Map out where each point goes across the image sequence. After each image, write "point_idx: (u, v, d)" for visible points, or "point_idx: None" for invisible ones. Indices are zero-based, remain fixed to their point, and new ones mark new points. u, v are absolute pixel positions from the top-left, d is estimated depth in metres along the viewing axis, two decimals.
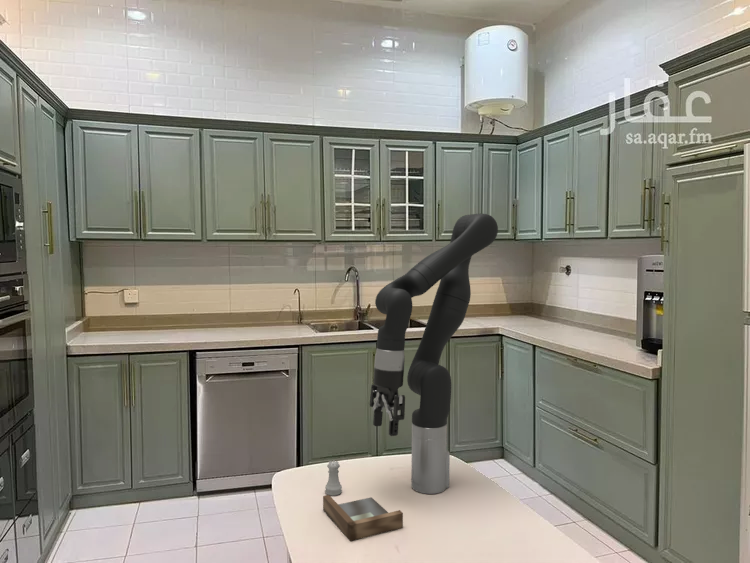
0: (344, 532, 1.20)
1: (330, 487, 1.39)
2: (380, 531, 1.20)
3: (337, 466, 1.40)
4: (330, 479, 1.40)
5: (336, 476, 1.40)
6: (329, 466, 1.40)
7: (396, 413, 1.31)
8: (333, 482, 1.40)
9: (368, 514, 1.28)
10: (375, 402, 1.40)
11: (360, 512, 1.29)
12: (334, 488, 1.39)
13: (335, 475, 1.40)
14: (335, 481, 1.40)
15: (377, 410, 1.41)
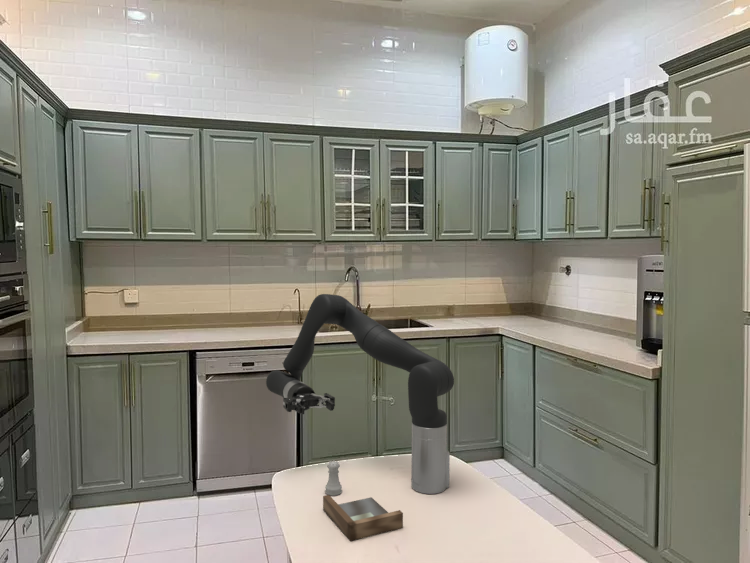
0: (344, 532, 1.20)
1: (330, 487, 1.39)
2: (380, 531, 1.20)
3: (337, 466, 1.40)
4: (330, 479, 1.40)
5: (336, 476, 1.40)
6: (329, 466, 1.40)
7: (286, 409, 1.53)
8: (333, 482, 1.40)
9: (368, 514, 1.28)
10: None
11: (360, 512, 1.29)
12: (334, 488, 1.39)
13: (335, 475, 1.40)
14: (335, 481, 1.40)
15: (326, 404, 1.56)
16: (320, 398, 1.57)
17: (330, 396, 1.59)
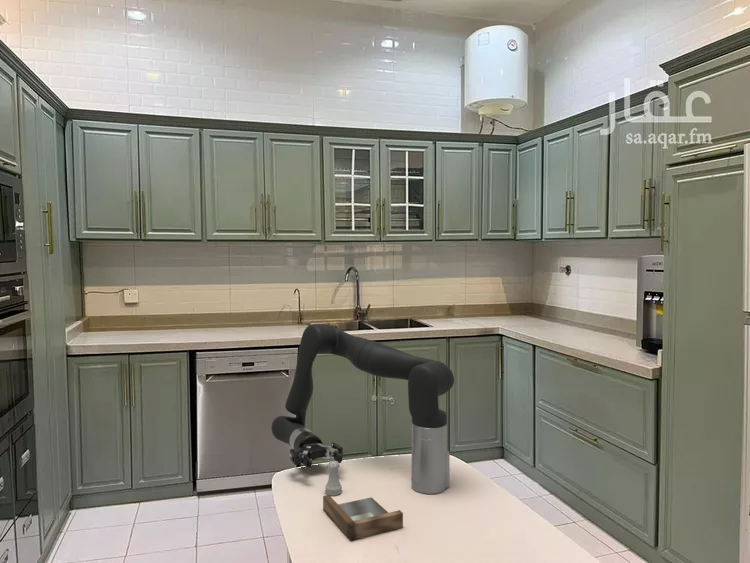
0: (344, 532, 1.20)
1: (330, 487, 1.39)
2: (380, 531, 1.20)
3: (337, 466, 1.40)
4: (330, 479, 1.40)
5: (336, 476, 1.40)
6: (329, 466, 1.40)
7: (293, 462, 1.48)
8: (333, 482, 1.40)
9: (368, 514, 1.28)
10: None
11: (360, 512, 1.29)
12: (334, 488, 1.39)
13: (335, 475, 1.40)
14: (335, 481, 1.40)
15: (334, 456, 1.51)
16: (327, 449, 1.52)
17: (338, 446, 1.55)
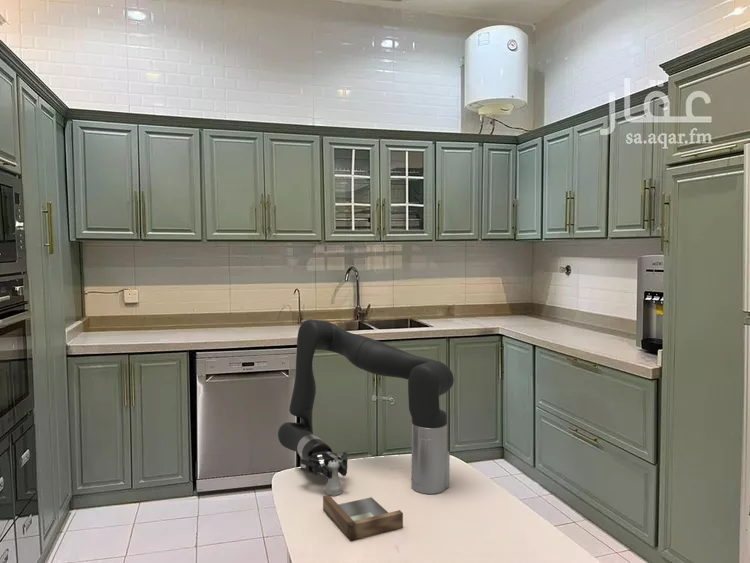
0: (344, 532, 1.20)
1: (330, 487, 1.39)
2: (380, 531, 1.20)
3: (337, 466, 1.40)
4: (330, 479, 1.40)
5: (336, 476, 1.40)
6: (329, 466, 1.40)
7: (310, 472, 1.41)
8: (333, 482, 1.40)
9: (368, 514, 1.28)
10: None
11: (360, 512, 1.29)
12: (334, 488, 1.39)
13: (335, 475, 1.40)
14: (335, 480, 1.40)
15: (338, 468, 1.43)
16: (333, 459, 1.45)
17: (344, 457, 1.46)
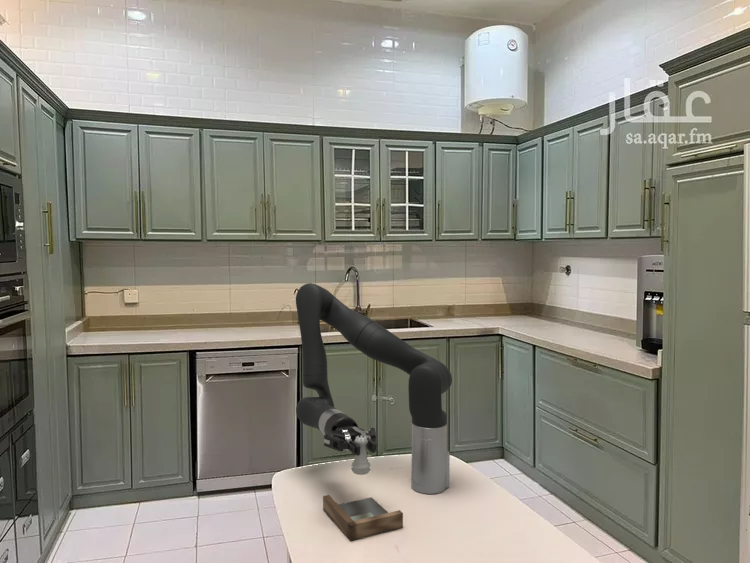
0: (344, 532, 1.20)
1: (358, 465, 1.24)
2: (380, 531, 1.20)
3: (365, 441, 1.24)
4: (357, 456, 1.24)
5: (364, 453, 1.24)
6: (356, 441, 1.24)
7: (335, 449, 1.26)
8: (361, 459, 1.24)
9: (368, 514, 1.28)
10: None
11: (360, 512, 1.29)
12: (362, 466, 1.24)
13: (363, 452, 1.24)
14: (363, 458, 1.24)
15: (366, 444, 1.27)
16: None
17: (373, 433, 1.30)
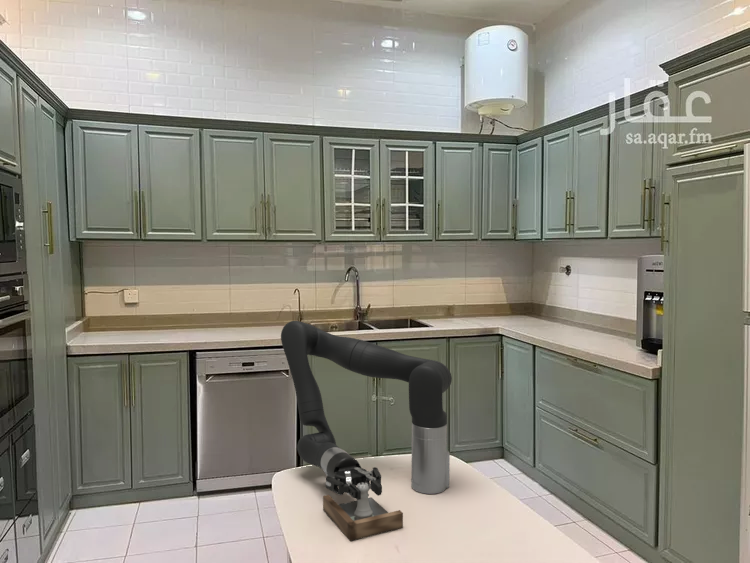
0: (344, 532, 1.20)
1: (360, 513, 1.23)
2: (380, 531, 1.20)
3: (367, 488, 1.24)
4: (360, 504, 1.24)
5: (366, 500, 1.24)
6: None
7: (336, 492, 1.25)
8: (363, 507, 1.23)
9: None
10: None
11: None
12: (365, 514, 1.23)
13: (365, 499, 1.24)
14: (365, 505, 1.24)
15: (371, 486, 1.26)
16: (365, 476, 1.28)
17: (377, 473, 1.30)
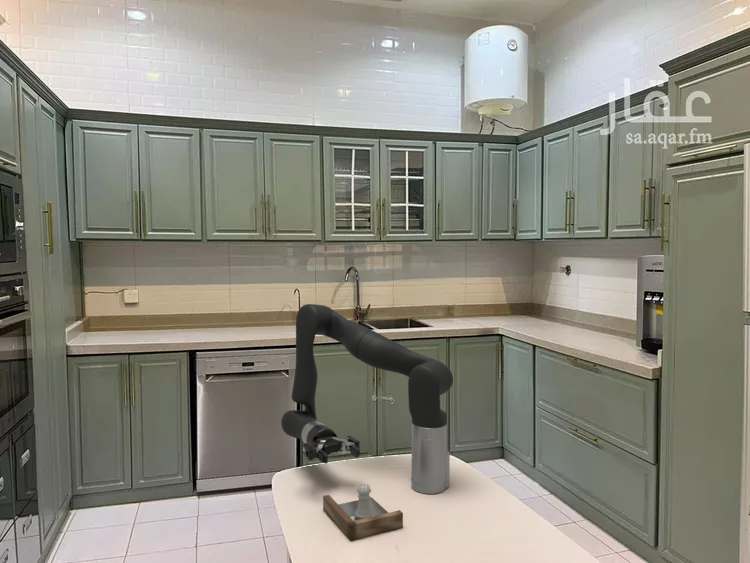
0: (344, 532, 1.20)
1: (361, 515, 1.23)
2: (380, 531, 1.20)
3: (368, 491, 1.23)
4: (360, 505, 1.23)
5: (367, 502, 1.24)
6: (359, 491, 1.23)
7: (307, 457, 1.38)
8: (364, 509, 1.23)
9: None
10: None
11: None
12: (365, 516, 1.23)
13: (366, 501, 1.23)
14: (366, 507, 1.23)
15: (350, 450, 1.41)
16: (343, 443, 1.42)
17: (354, 440, 1.44)
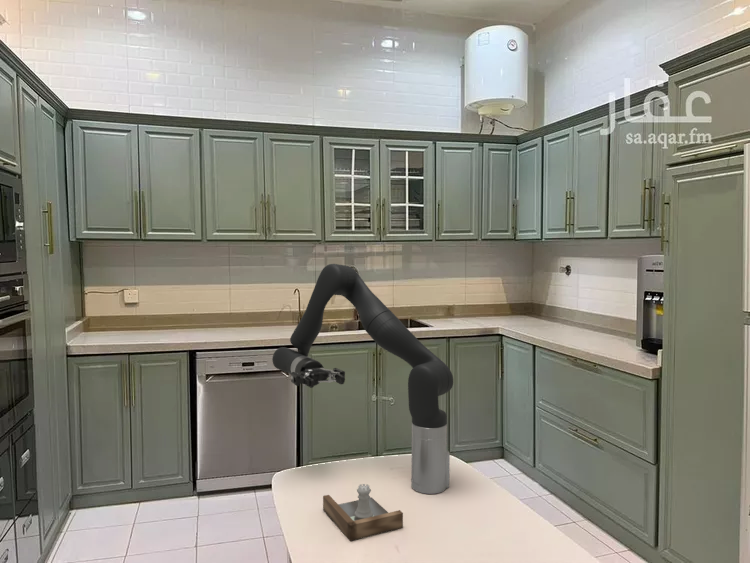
0: (344, 532, 1.20)
1: (361, 515, 1.23)
2: (380, 531, 1.20)
3: (368, 491, 1.23)
4: (360, 505, 1.23)
5: (367, 502, 1.24)
6: (359, 491, 1.23)
7: (294, 383, 1.46)
8: (364, 509, 1.23)
9: None
10: None
11: None
12: (365, 516, 1.23)
13: (366, 501, 1.23)
14: (366, 507, 1.23)
15: (336, 378, 1.49)
16: (329, 372, 1.50)
17: (340, 370, 1.52)
